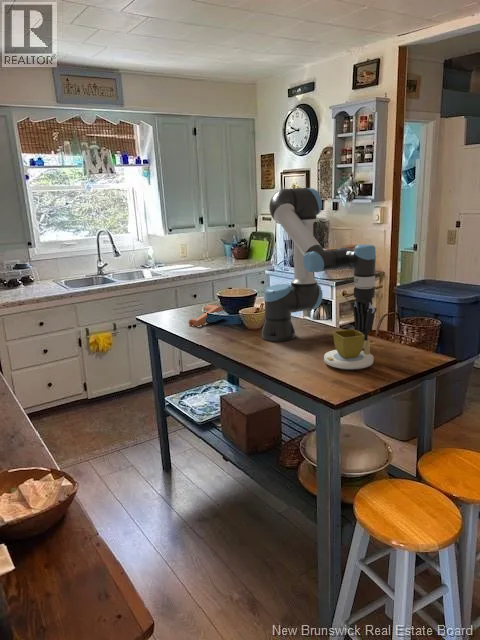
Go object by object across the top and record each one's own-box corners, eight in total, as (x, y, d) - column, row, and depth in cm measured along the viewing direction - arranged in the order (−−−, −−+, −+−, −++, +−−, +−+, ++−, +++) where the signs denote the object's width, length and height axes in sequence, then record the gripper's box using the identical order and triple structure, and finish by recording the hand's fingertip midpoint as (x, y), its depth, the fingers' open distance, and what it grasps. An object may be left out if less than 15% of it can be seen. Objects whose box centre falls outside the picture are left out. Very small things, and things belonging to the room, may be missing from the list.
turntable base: (324, 361, 182) (324, 358, 182) (353, 356, 186) (353, 353, 186) (342, 372, 170) (342, 369, 170) (373, 367, 174) (373, 364, 174)
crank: (214, 317, 256) (213, 303, 254) (225, 319, 251) (224, 305, 249) (187, 326, 242) (186, 311, 240) (198, 328, 236) (197, 313, 234)
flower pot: (364, 358, 175) (365, 335, 172) (343, 361, 172) (343, 337, 170) (353, 351, 183) (353, 328, 181) (332, 354, 181) (332, 331, 178)
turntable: (315, 356, 183) (315, 340, 182) (355, 350, 189) (356, 334, 187) (340, 372, 167) (340, 354, 165) (383, 364, 173) (384, 347, 171)
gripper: (345, 285, 181) (345, 344, 187) (365, 290, 169) (364, 353, 175) (362, 283, 184) (361, 341, 189) (383, 288, 172) (381, 350, 177)
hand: (362, 347), depth 182 cm, fingers closed
